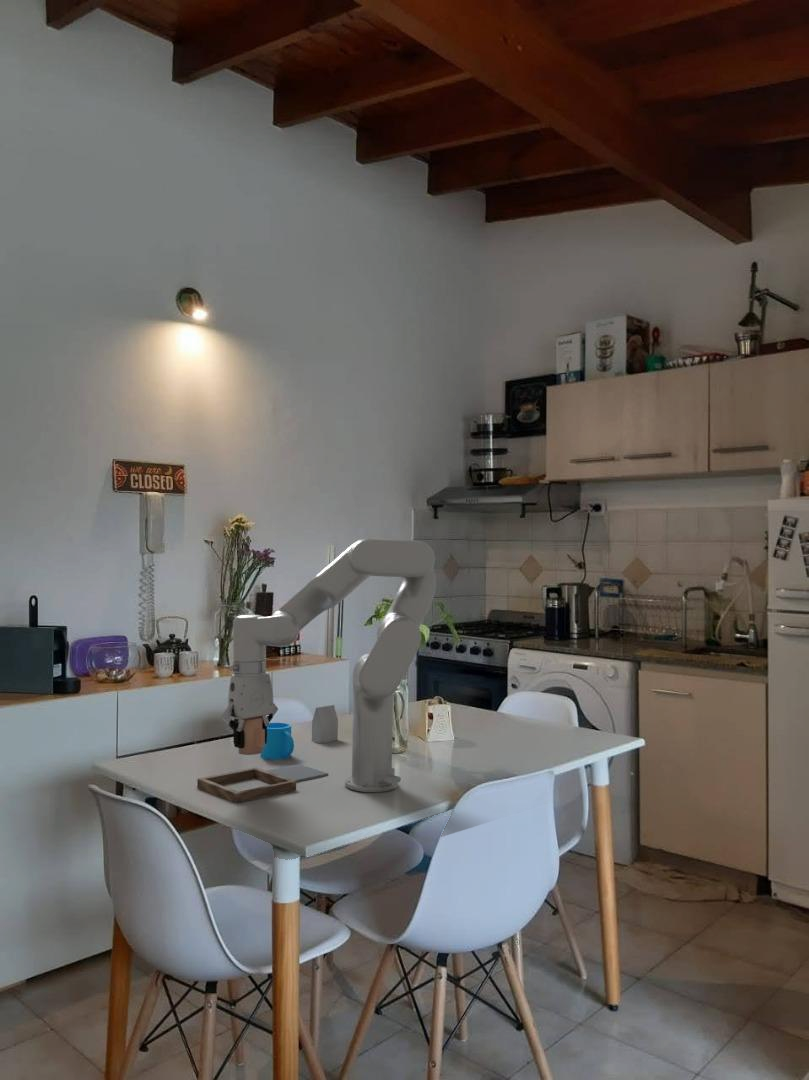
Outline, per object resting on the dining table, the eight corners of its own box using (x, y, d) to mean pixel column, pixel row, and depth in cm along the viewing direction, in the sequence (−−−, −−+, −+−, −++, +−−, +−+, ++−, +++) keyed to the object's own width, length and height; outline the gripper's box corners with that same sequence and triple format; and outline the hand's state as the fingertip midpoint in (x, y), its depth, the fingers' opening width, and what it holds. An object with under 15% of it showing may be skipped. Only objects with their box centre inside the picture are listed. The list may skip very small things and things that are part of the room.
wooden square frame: (296, 789, 208) (296, 781, 208) (236, 802, 197) (236, 793, 197) (255, 775, 220) (255, 767, 220) (197, 787, 209) (197, 778, 209)
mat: (327, 775, 222) (328, 773, 222) (288, 783, 213) (288, 781, 213) (298, 766, 230) (298, 764, 230) (259, 773, 222) (259, 771, 222)
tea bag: (337, 739, 262) (338, 705, 262) (320, 743, 257) (320, 708, 257) (329, 737, 264) (329, 704, 264) (311, 741, 260) (312, 706, 260)
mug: (254, 755, 241) (254, 725, 241) (279, 750, 247) (279, 721, 247) (279, 763, 232) (280, 732, 232) (305, 759, 238) (305, 728, 238)
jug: (233, 752, 209) (233, 717, 209) (253, 748, 213) (253, 714, 213) (253, 757, 203) (252, 722, 203) (273, 753, 207) (272, 719, 207)
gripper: (227, 673, 200) (227, 754, 200) (289, 665, 212) (289, 741, 212) (209, 670, 205) (209, 748, 205) (270, 662, 217) (271, 736, 217)
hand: (250, 744), depth 209 cm, fingers closed on jug, 5 cm apart
